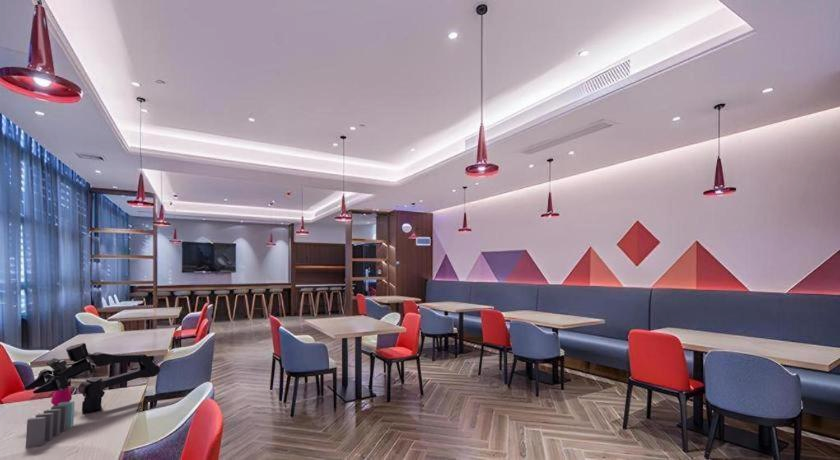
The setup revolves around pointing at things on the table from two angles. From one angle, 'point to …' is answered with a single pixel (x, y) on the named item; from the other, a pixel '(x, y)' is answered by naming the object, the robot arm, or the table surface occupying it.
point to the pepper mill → (61, 396)
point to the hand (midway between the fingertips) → (28, 390)
